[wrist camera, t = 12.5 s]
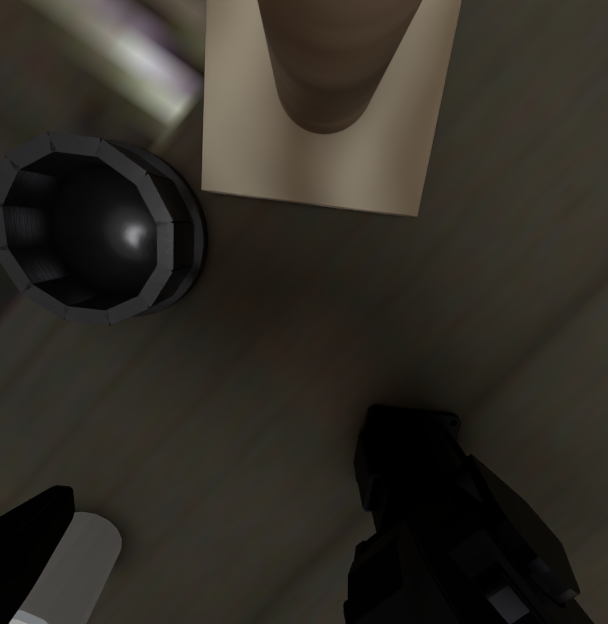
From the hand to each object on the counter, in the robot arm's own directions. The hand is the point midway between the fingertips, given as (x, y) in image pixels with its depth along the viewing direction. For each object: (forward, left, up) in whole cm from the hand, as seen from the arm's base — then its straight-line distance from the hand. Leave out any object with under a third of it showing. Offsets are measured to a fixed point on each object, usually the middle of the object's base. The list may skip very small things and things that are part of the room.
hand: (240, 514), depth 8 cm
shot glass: (+14, +19, -13) cm, 27 cm away
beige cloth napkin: (-1, -15, -13) cm, 20 cm away
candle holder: (+10, -6, -13) cm, 17 cm away
